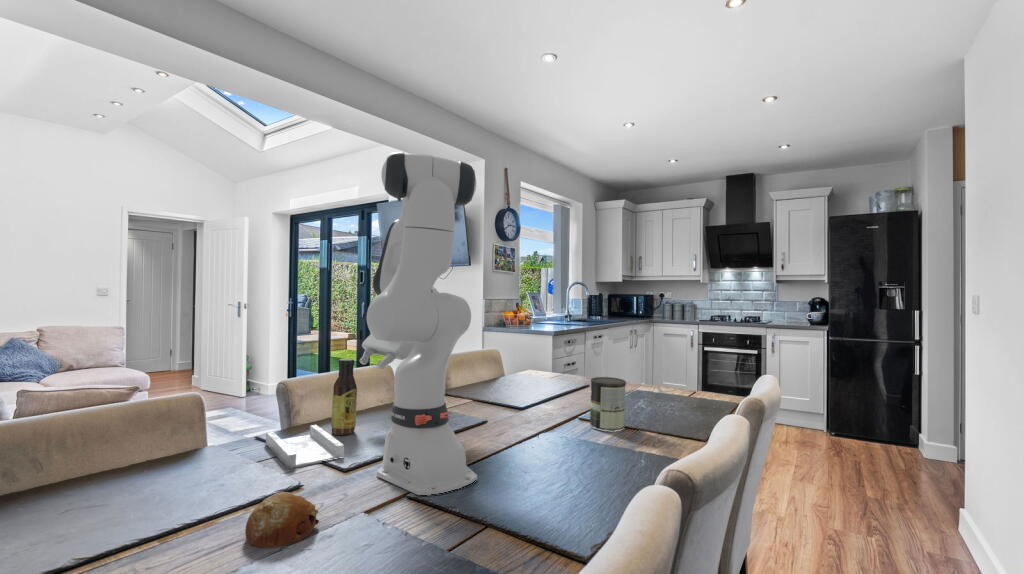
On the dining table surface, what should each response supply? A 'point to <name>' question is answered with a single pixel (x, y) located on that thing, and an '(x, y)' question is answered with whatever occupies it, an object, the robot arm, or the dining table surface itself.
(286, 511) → the bread roll
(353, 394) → the sauce bottle
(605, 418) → the coffee can
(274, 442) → the track
